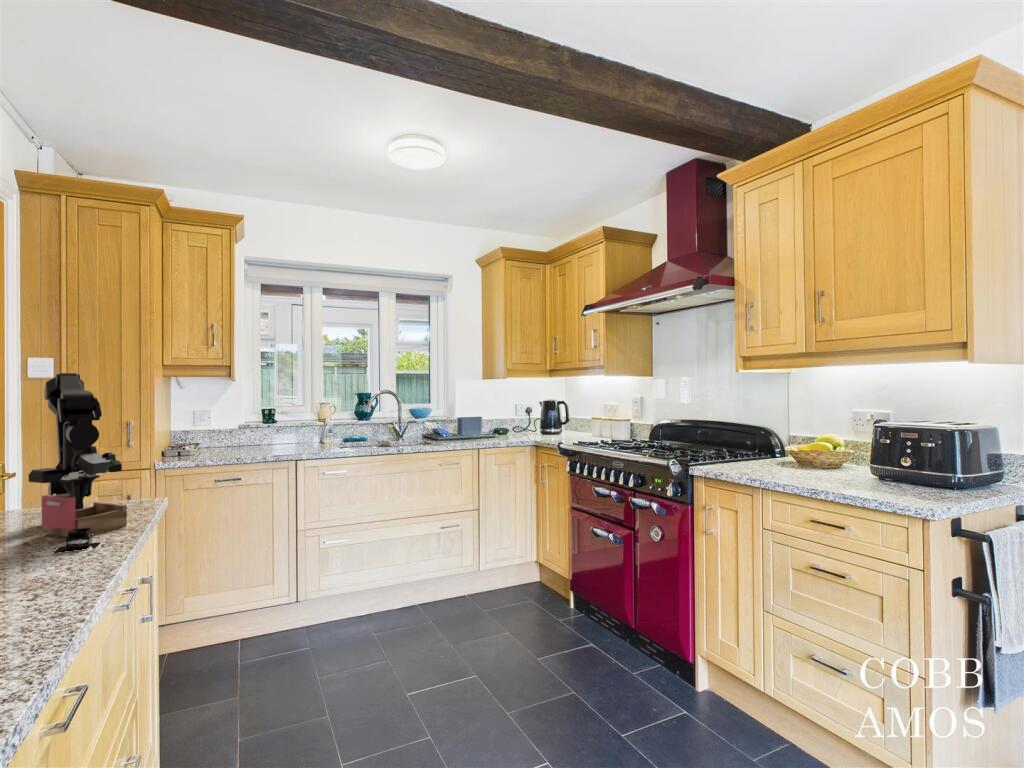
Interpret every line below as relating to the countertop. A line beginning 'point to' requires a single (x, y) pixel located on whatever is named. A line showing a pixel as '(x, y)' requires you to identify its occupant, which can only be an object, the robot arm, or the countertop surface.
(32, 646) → the countertop surface
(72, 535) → the black boxy piece
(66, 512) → the panel
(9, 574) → the countertop surface
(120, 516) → the brown wooden drawer
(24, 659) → the countertop surface
